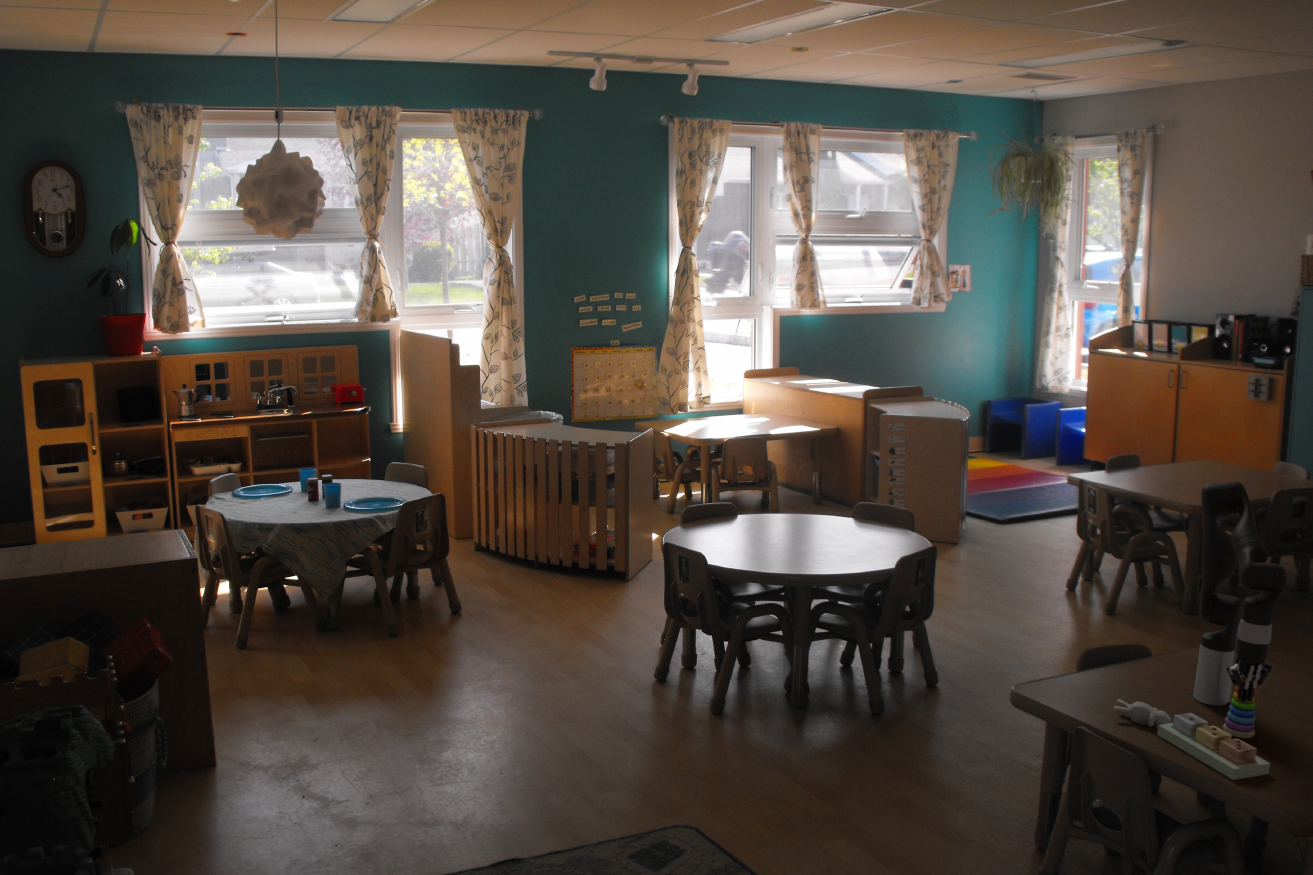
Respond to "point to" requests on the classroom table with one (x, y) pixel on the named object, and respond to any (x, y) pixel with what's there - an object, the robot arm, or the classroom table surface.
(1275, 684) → the classroom table surface
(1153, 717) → the bunny figurine
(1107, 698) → the classroom table surface
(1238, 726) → the stacking toy
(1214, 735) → the tile
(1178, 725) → the grey block
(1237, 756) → the tile
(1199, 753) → the number board
